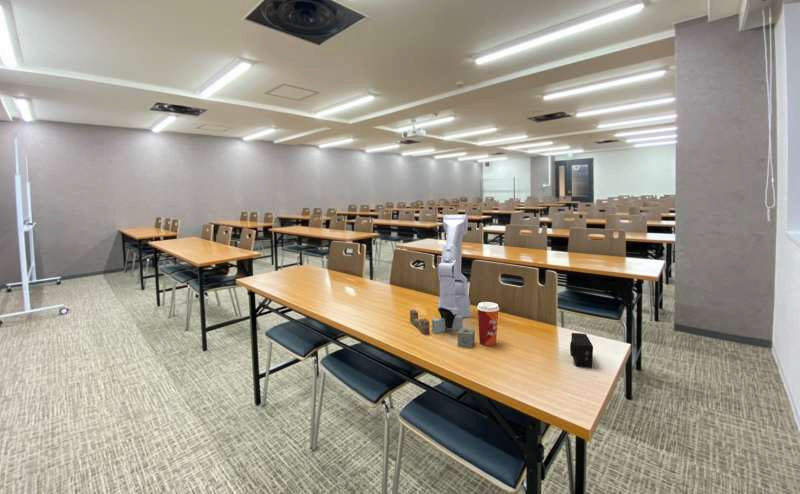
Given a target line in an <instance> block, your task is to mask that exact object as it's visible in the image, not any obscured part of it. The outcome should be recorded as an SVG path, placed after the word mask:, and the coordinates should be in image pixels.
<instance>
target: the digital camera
mask: <svg viewBox="0 0 800 494" xmlns="http://www.w3.org/2000/svg"><path fill="white" fill-rule="evenodd" d="M569 352H570V356H571V357H572V359H573V361H574V364H575V367H577V368H584V369H585V368H587V369H592V368H593V359H594V358H593V357H594V356H593V355H594V346H593V344H592V342H591V341H590V338H589V337H588V335H587V333H581V332H571V339H570V344H569Z"/></svg>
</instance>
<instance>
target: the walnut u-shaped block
mask: <svg viewBox="0 0 800 494" xmlns="http://www.w3.org/2000/svg"><path fill="white" fill-rule="evenodd" d="M409 314H410V315H409V322H410V323H411V324H412V325H413V326H414V327H415V328H417V329H418V330H419V332H421V333H422V334H423V335H424V336H428V335H430V320H428V319H427V318H426V317H425V318H420V319H419V312H418V311H417V310H416V309H410V310H409Z"/></svg>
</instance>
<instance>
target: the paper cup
mask: <svg viewBox="0 0 800 494" xmlns="http://www.w3.org/2000/svg"><path fill="white" fill-rule="evenodd" d="M476 309H477V319H478V323H477V324H478V338H479V339H478V340H479V344H481V345H482V346H485V347H493V346H495V345H496V344H497V336H498V335H497V333H498V325H499V324H498V323H499V322H498V321H499V311H500V307H499V305H498V303H496V302H491V301H481V302H479V303H478V304H477V306H476Z"/></svg>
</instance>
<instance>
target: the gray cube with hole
mask: <svg viewBox="0 0 800 494" xmlns="http://www.w3.org/2000/svg"><path fill="white" fill-rule="evenodd" d="M475 332H476V331H475V328H467V327H466V328H465V327H463V328H460V330H457V347H460V348H469V349H473V348H474V345H475V335H476V334H475Z"/></svg>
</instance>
